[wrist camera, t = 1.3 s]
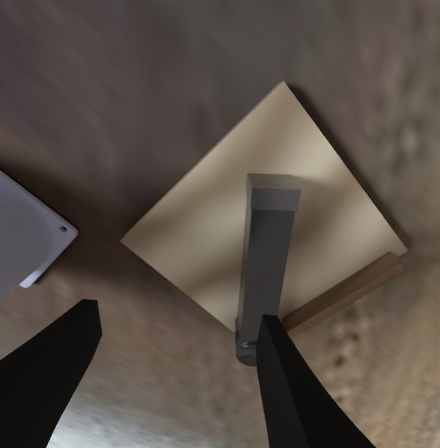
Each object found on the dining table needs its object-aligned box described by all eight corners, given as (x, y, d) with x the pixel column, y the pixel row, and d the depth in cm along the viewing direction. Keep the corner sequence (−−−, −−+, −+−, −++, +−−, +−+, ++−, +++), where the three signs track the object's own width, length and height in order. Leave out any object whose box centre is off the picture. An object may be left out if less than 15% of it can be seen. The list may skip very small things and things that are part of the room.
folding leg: (265, 333, 22) (271, 368, 19) (233, 332, 22) (235, 367, 19) (289, 174, 16) (303, 189, 13) (245, 173, 16) (250, 188, 13)
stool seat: (126, 232, 20) (111, 251, 17) (278, 82, 15) (289, 78, 13) (250, 333, 24) (253, 361, 22) (395, 240, 20) (422, 262, 17)
